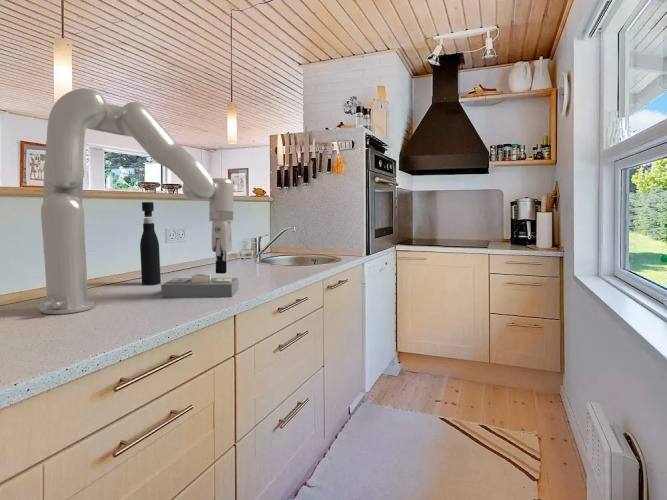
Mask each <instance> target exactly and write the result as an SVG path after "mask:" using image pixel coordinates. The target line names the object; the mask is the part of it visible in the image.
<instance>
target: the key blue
mask: <svg viewBox="0 0 667 500" xmlns="http://www.w3.org/2000/svg"><path fill="white" fill-rule="evenodd" d="M172 279H173V280H172ZM172 279H171V280H172V281H170V280H169V281H170V283H187V282H189V281H190V279H174V278H172Z"/></svg>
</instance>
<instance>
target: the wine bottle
mask: <svg viewBox="0 0 667 500" xmlns="http://www.w3.org/2000/svg"><path fill="white" fill-rule="evenodd" d="M154 206H155V205H154V202H153V201H141V212H144V214H143V215H144V217H143V224H142V228H143V231H142V235H141V237H140V242H139V243H140V244H139V248H140V249H139V251H140V274H141V285H143V286H156V285H160V284H161V283H162V282H161V281H162V280H161V278H162V277H161V263H160V261H161V260H160V259H161V258H160V256H161V255H160V244H159V243H160V242H159V239H158V236H157V233H156V231H155V223H154V218H153V213H152V212H154V211H155V209H154Z"/></svg>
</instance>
